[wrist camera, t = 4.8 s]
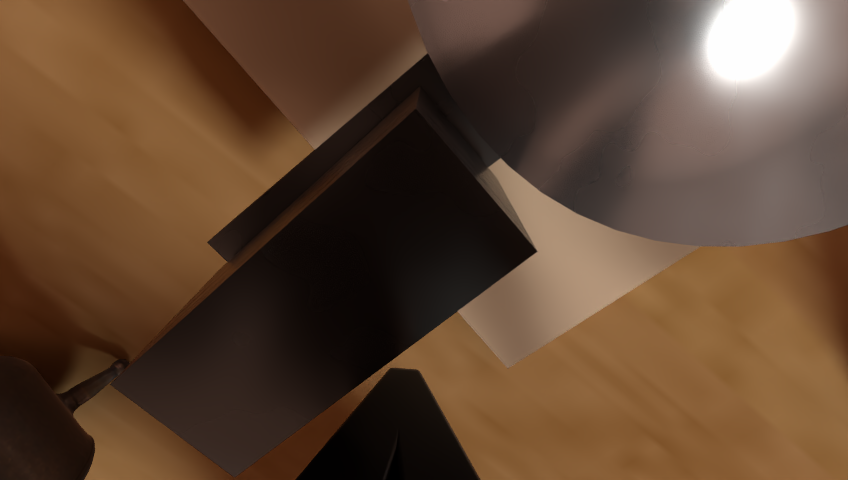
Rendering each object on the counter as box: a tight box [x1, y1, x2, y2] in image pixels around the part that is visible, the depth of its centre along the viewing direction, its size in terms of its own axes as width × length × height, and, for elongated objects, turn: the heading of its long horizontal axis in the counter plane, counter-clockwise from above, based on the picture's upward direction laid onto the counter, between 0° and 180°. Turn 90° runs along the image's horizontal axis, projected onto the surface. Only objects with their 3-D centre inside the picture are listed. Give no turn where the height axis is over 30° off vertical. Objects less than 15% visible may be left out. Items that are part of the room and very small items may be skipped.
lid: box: [110, 0, 848, 477], centre depth 7 cm, size 19×12×4 cm, turn 131°
